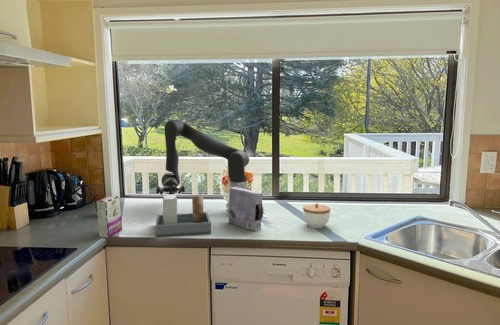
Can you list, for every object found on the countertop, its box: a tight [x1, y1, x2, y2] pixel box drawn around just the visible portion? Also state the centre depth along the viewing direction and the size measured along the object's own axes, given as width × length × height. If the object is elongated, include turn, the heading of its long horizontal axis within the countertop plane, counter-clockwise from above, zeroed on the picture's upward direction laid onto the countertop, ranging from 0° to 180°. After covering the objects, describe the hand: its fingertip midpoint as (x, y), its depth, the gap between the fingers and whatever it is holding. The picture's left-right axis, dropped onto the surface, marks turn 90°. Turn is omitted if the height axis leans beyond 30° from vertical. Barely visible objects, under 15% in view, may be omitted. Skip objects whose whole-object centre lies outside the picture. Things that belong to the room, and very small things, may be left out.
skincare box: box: [162, 194, 178, 225], centre depth 165 cm, size 8×6×15 cm
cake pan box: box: [228, 187, 264, 232], centre depth 171 cm, size 19×5×18 cm, turn 45°
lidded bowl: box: [302, 203, 331, 229], centre depth 171 cm, size 13×13×11 cm
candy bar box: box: [95, 194, 123, 239], centre depth 160 cm, size 11×5×16 cm, turn 168°
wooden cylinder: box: [191, 194, 205, 223], centre depth 168 cm, size 5×5×14 cm
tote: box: [155, 212, 212, 238], centre depth 167 cm, size 24×17×5 cm
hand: (170, 192), depth 180 cm, fingers open, 8 cm apart
